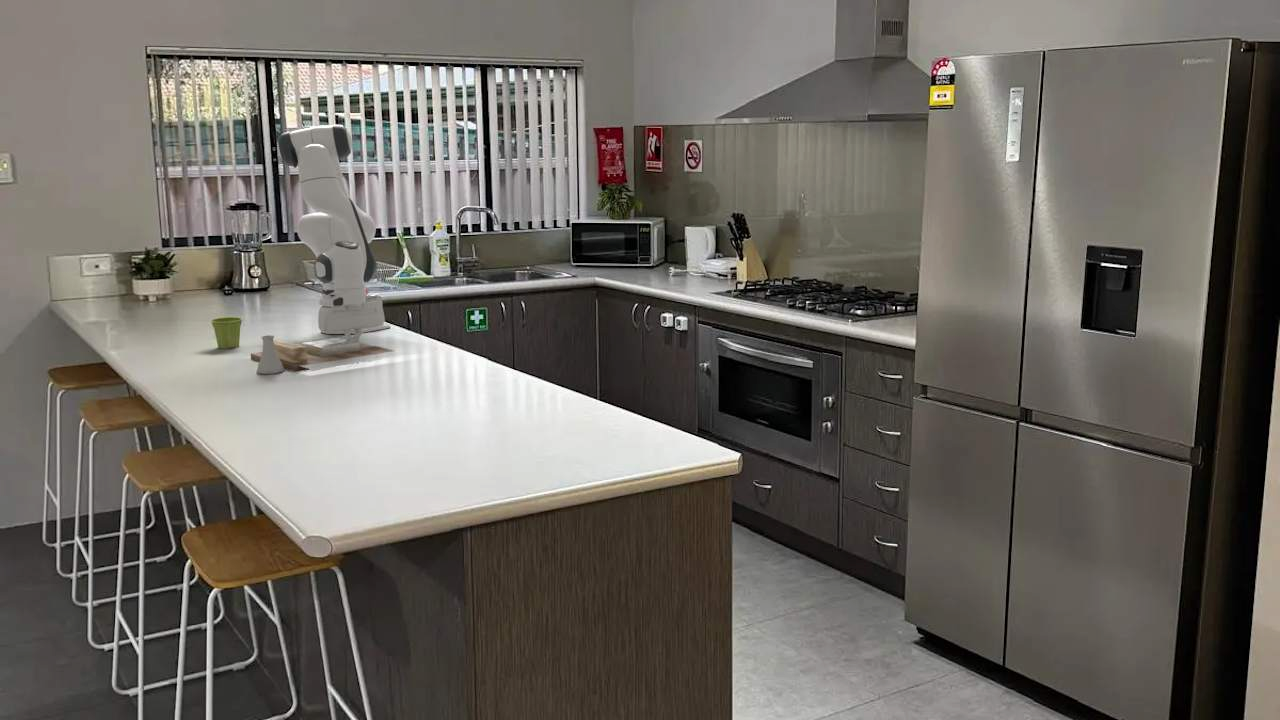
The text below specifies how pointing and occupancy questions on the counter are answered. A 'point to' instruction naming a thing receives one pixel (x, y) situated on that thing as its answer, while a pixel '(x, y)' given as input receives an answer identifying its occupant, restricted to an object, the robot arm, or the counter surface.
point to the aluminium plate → (331, 346)
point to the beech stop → (290, 351)
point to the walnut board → (327, 357)
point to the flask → (269, 358)
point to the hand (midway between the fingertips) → (353, 343)
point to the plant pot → (227, 331)
